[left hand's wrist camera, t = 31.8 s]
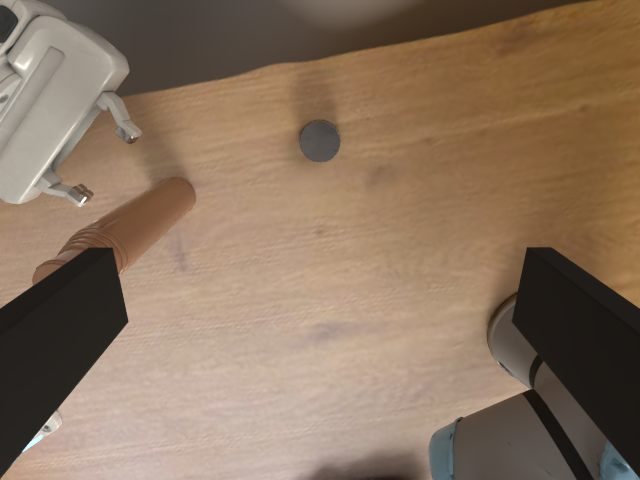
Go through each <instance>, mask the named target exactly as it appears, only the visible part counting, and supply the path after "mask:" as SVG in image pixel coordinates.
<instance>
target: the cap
mask: <svg viewBox="0 0 640 480" xmlns="http://www.w3.org/2000/svg"><path fill="white" fill-rule="evenodd" d="M340 141H341V140H340V135H339V134H338V130H337V129H336V127H335V126H334V125H333V124H332V123H330V122H328V121H325V120H314V121H312V122H310V123H309V124H308V125H306V127H305V128H304V129H303V132H302V133H301V136H300V146H301V150H302V152H303V153H304V155H305V156H306V157H307V158H308V159H310V160H312V161H314V162H326V161H328V160H330V159H332V158H333V157H334V156H335V155H336V154H337V152H338V150H339V147H340Z"/></svg>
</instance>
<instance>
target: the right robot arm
mask: <svg viewBox="0 0 640 480" xmlns="http://www.w3.org/2000/svg"><path fill="white" fill-rule="evenodd" d="M129 71H130V69H129V65H128V62H127V59H126V57H125V56H124V55H123V54H122V53H121V52H120V51H119V50H117V49H116V48H115V47H114V46H113V45H111V44H110V43H109V42H108V41H106V40H105V39H104V38H102V37H101V36H100V35H98V34H97V33H96V32H94V31H93V30H91V29H90V28H88V27H86V26H84V25H82V24H79V23H76V22H72V21H69V20H67V18H66V17H65V16H64V15H63V13H62V12H60V11H59V10H58V9H56V8H54V7H53V6H50V5H48V4H46V3H43V2H41V1H37V0H0V199H2V200H3V201H5V202H7V203H11V204H22V203H25V202H28V201H30V200H32V199H35V198H36V197H38V196H39V195H40V193H41V192H44V193H46V194H51V195H55V196H60V197H66V198H67V199H69V200H70V201H71V202H73V203H74V204H75V205H77V206H79V207H82V206H84V205H86V204H87V203H88V202H89V200H90V199H91V198H92V196H93V192H92V191H90V190H87V187H85V186H84V185H83V184H79V185H78V186H75V187H71V186H67V185H63V184H60V183H61V182H62V181H63V180H62V178H60V177H59V176H58V175H57V174H55V173H56V171H57V170H58V169H59V167H60V166H61V165H62V163H63V162H64V161H65V159H66V158H67V156H68V155H69V154H70V152H71V151H72V150H73V148H74V147H75V146H76V144H77V143H78V141H79V140H80V139H81V137H82V136H83V135H84V133H85V132H86V131H87V129H88V128H89V126H90V125H91V124H92V122H93V121H94V120H95V118H96V117H97V116H98V114H99V113H100V111H101V110H102V109H103V110H104V111H105V110H110V111H111V113H112V115H113V117H114V119H115V121H116V123H117V125H118V128H117V129H116V131H115V132H114V133H115V134H117V135H118V136H119V137H122V138H123V140H124V141H125V142H126V143H128V144H132V143H135V142H136V140H137V139H138V138H139V137H140V136H141V134H142V133H143V132H142V131H141V130H140V129H139V128H138V127H137V126H136V125H135V124H134V123H132V122H131V121H130V117H129V114H128V112H127V109H126V107H125V105H124V102H123V100H122V99H121V98H120V97H118V96H117V95H116V94H115V93H114V92H115V91H116V90H117V88H118V87H119V86H120V84H121V83H122V82H123V80H124V79H125V77H126V76H127V75H128V73H129ZM61 424H62V419H61V417H60V415H59V414H58V412H57V411H55V412H54V414H53V415H52V416H51V417H50V419H49V420H48V421H47V422H46V423H45V425H44V426H43V427H42V428H41V430H40V431H39V432H38V433H37V434H36V436H35V437H34V438H33V439H32V441H31V442H30V443H29V444H28V445H27V447H26V448H25V449H24V450H23V451H25V450H26V449H28V448H29V447H30V446H32V445H33V444H35V443H36V442H38V441H39V440H40V439H42V438H43V437H45V436H47V435H48V434H50V433H51V432H53V431H55V430H56V429H57V428H58V427H59V426H60V425H61ZM17 459H18V458H17ZM17 459H16V460H17ZM16 460H15V461H16ZM15 461H14V462H15Z"/></svg>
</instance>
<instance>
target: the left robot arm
mask: <svg viewBox="0 0 640 480" xmlns="http://www.w3.org/2000/svg"><path fill="white" fill-rule="evenodd" d="M127 323H128V317H127V312H126V307H125V303H124V298H123V293H122V288H121V284H120V279H119V274H118V269H117V265H116V260H115V255H114V250H113V247H89V248H87V249H86V250H84V251H83V252H81V253H80V254H79V255H77V256H76V257H74V258H73V259H71V260H70V261H68V262H67V263H66V264H64V265H63V266H61V267H60V268H58V269H57V270H55V271H54V272H53V273H51V274H50V275H48V276H47V277H45V278H44V279H42V280H41V281H40V282H38V283H37V284H35V285H34V286H32V287H31V288H29V289H28V290H27V291H25V292H24V293H22V294H21V295H19V296H18V297H16V298H15V299H14V300H12V301H11V302H9V303H8V304H6V305H5V306H3V307H2V308H1V309H0V479H1V477H2V476H3V475H4V474H5V472H6V471H7V470H8V469H9V468H10V466H11V465H12V464H13V463H14V461H15V460H16V459H17V458H18V457H19V455H20V454H21V453H22V452H23V450H24V449H25V448H26V447H27V445H28V444H29V443H30V442H31V441H32V439H33V438H34V437H35V436H36V434H37V433H38V432H39V431H40V430H41V428H42V427H43V426H44V425H45V423H46V422H47V421H48V420H49V419H50V417H51V416H52V415H53V414H54V412H55V411H56V410H57V409H58V408H59V406H60V405H61V404H62V403H63V401H64V400H65V399H66V398H67V396H68V395H69V394H70V393H71V392H72V390H73V389H74V388H75V387H76V385H77V384H78V383H79V382H80V381H81V379H82V378H83V377H84V376H85V374H86V373H87V372H88V371H89V370H90V368H91V367H92V366H93V365H94V363H95V362H96V361H97V360H98V359H99V357H100V356H101V355H102V354H103V352H104V351H105V350H106V349H107V347H108V346H109V345H110V344H111V343H112V341H113V340H114V339H115V338H116V336H117V335H118V334H119V333H120V332H121V330H122V329H123V328H124V327H125V325H126V324H127ZM487 341H488V346H489V349H490V352H491V353H492V355H493V357H494V358H495V360H496V361H497V363H498V364H499V365H500V366H501V368H502V369H504V370H505V371H506V372H507V373H508V374H510V375H511V376H513V377H515V378H517V379H518V380H519V381H520V382H522V383H523V384H524V385H526V386H527V387H528V388H530V390H528V391H525V392H523V393H520V394H518V395H515V396H513V397H511V398H508V399H506V400H504V401H501V402H499V403H497V404H494V405H492V406H490V407H487V408H485V409H483V410H480V411H478V412H476V413H473V414H471V415H469V416H466V417H464V418H463V417H460V418H457V419H456V420H455V421H454V423H451V424H449V425H447V426H445V427H443V428H441V429H439V430H438V431H436V432H435V433H434V434H433V436H432V438H431V441H430V444H429V463H430V470H431V475H432V479H433V480H640V309H639V308H638V307H637V306H635V305H634V304H632V303H631V302H629V301H628V300H626V299H625V298H624V297H622V296H621V295H619V294H618V293H616V292H615V291H613V290H612V289H611V288H609V287H608V286H606V285H605V284H603V283H602V282H600V281H599V280H598V279H596V278H595V277H593V276H592V275H590V274H589V273H587V272H586V271H585V270H583V269H582V268H580V267H579V266H577V265H576V264H574V263H573V262H572V261H570V260H569V259H567V258H566V257H564V256H563V255H561V254H560V253H559V252H557V251H556V250H554V249H553V248H551V247H527V250H526V255H525V260H524V265H523V269H522V274H521V279H520V284H519V288H518V293H516V294H515V295H513V296H512V297H510V298H509V299H508V300H506V301H505V302H504V303H503V304H502V305H501V306H500V307H499V309H498V310H497V311H496V313H495V314H494V316H493V317H492V320H491V322H490V324H489V328H488V333H487Z"/></svg>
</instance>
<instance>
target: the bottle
mask: <svg viewBox="0 0 640 480" xmlns="http://www.w3.org/2000/svg"><path fill="white" fill-rule="evenodd" d="M195 200H196V195H195V191H194V189H193V187H192V186H191V185H190V184H189V183H188V182H187V181H186V180H184V179H182V178H178V177H170V178H167V179H165V180H163V181H162V182H160V183H158V184H157V185H155V186H153V187H152V188H150V189H148V190H147V191H145V192H143V193H142V194H140V195H138V196H137V197H135V198H133V199H132V200H130V201H128V202H126V203H125V204H123V205H121V206H120V207H118V208H116V209H115V210H113V211H111V212H110V213H108V214H106V215H105V216H103V217H101V218H100V219H98V220H96V221H95V222H93V223H91V224H90V225H88V226H86V227H84V228H83V229H81V230H79V231H78V232H76V233H75V234H74V235H73V236H72V237H71V238H70V239H69V240H68V242H67V243H66V244H65V246H64V247H63V248H62V250H61V251H60V252H59V253H58V255H57V256H56V257H55V258H53V259H52V260H49V261H46V262H44V263H43V264H41V265H40V266H38V267H37V268H36V269H37V270H36V271H35V273H34V275H33V286H34V285H35V284H37V283H38V282H40V281H41V280H42V279H44V278H45V277H47V276H48V275H50V274H51V273H53V272H54V271H55V270H57V269H58V268H60V267H61V266H63V265H64V264H66V263H67V262H68V261H70V260H71V259H73V258H74V257H76V256H77V255H79V254H80V253H81V252H83V251H84V250H86V249H87V248H89V247H113V250H114V255H115V260H116V265H117V269H118V274H119V276H121V275H122V274H123V273H124V272H125V271H126V270H127V269H128V268H129V267H130V266H131V265H132V264H133V263H134V262H135V261H137V260H138V259H139V258H140V257H141V256H142V255H143V254H144V253H145V252H146V251H147V250H148V249H149V248H150V247H151V246H152V245H153V244H155V243H156V242H157V241H158V240H159V239H160V238H161V237H162V236H163V235H164V234H165V233H166V232H167V231H168V230H169V229H170V228H171V227H173V226H174V225H175V224H176V223H177V222H178V221H179V220H180V219H181V218H182V217H183V216H184V215H185V214H186V213H187V212H188V211H190V210H191V209H192V207H193V206H194V204H195Z"/></svg>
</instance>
